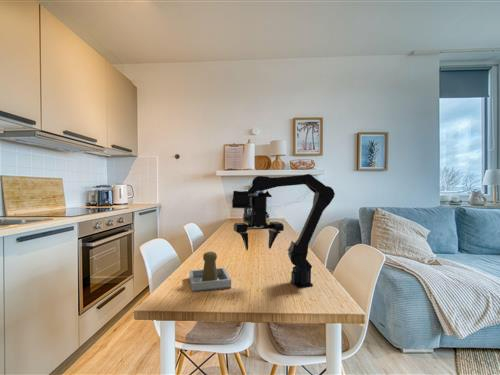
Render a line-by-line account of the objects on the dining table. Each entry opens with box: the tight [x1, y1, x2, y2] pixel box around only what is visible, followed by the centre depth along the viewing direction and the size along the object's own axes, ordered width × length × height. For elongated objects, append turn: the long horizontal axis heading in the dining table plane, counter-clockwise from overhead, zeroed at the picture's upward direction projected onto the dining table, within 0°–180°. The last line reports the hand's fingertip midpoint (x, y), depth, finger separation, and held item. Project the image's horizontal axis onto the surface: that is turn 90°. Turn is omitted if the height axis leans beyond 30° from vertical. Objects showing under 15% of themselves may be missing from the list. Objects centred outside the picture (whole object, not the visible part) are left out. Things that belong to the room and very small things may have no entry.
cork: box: [202, 251, 218, 281], centre depth 95 cm, size 6×6×11 cm
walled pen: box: [189, 267, 232, 293], centre depth 95 cm, size 14×14×3 cm
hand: (258, 249), depth 95 cm, fingers open, 9 cm apart
